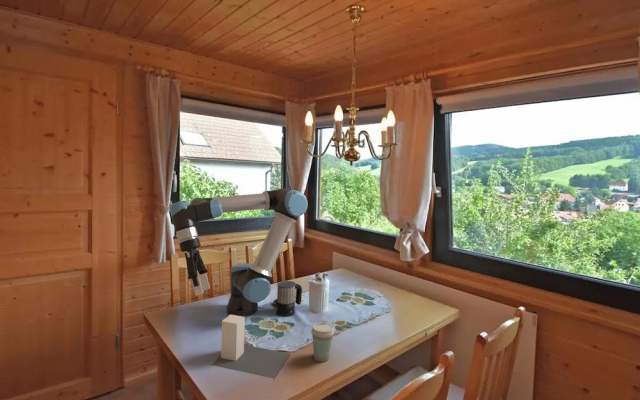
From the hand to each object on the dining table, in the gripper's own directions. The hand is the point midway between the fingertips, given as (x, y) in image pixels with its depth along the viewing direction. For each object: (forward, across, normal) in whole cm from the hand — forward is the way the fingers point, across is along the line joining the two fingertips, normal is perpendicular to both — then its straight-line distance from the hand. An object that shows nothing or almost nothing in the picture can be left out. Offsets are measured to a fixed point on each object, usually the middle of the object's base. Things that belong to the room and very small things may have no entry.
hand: (203, 291), depth 133 cm
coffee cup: (+37, +7, +36) cm, 52 cm away
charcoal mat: (+29, +8, +12) cm, 32 cm away
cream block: (+25, +5, +5) cm, 26 cm away
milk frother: (+24, -36, +26) cm, 50 cm away
